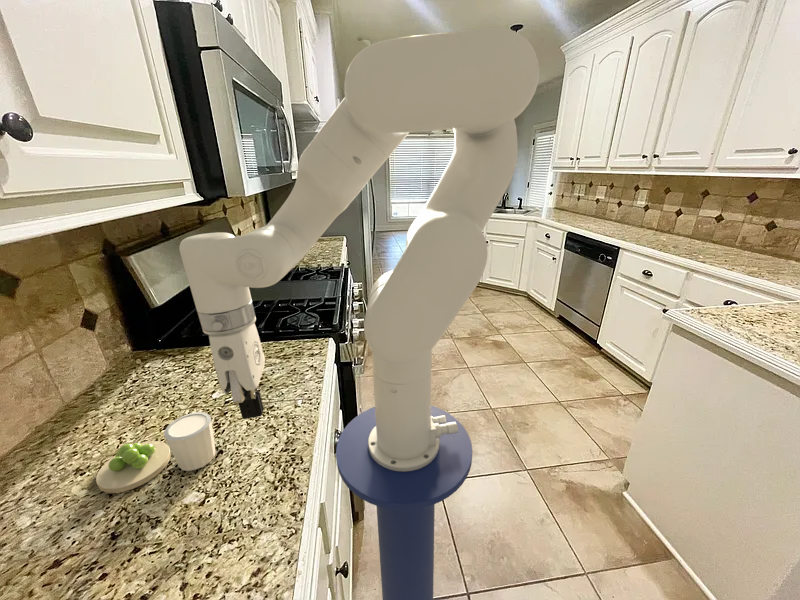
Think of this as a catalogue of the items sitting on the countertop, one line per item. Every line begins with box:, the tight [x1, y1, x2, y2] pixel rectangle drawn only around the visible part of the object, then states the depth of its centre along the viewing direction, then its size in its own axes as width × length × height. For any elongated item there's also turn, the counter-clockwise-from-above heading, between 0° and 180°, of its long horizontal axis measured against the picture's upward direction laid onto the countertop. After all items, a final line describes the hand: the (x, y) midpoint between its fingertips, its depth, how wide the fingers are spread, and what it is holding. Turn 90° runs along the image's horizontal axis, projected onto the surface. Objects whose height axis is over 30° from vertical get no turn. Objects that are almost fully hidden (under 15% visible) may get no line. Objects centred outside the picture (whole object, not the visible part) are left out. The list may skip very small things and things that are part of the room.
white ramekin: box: [163, 411, 216, 472], centre depth 58 cm, size 7×7×7 cm
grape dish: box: [95, 440, 172, 494], centre depth 57 cm, size 10×10×5 cm
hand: (253, 414), depth 58 cm, fingers closed
